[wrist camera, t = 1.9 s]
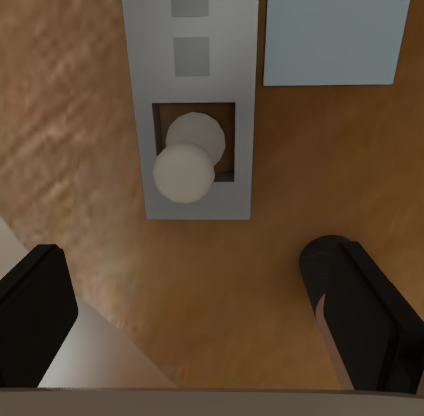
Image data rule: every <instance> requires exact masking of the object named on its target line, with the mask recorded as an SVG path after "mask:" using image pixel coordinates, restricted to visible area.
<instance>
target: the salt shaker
mask: <svg viewBox="0 0 424 416" xmlns="http://www.w3.org/2000/svg"><path fill="white" fill-rule="evenodd" d="M225 147H226V145H225V136H224V132H223V130H222V129H221V127H220V125H219V123H218V122H217V121H216V120H215V119H213V118H211V117H210V116H208V115H206V114H203V113H197V112H190V113H187V114H184V115H182V116H179V117H178V118H177V119H176V120H175V121H174V122H173V123H172V124H171V125H170V126H169V129H168V133H167V136H166V148H165V149H164V150H163V151H162V152H161V153H160V154H159V155H158V156H157V157H156V161H155V164H154V168H153V177H154V182H155V186H156V187H157V189H158V190H159V191H160V193H161V194H162V195H163V196H164V197H166V198H167V199H169V200H171V201H173V202H174V203H183V204H189V203H192V202H195V201H199V200H200V199H201V198H202V197H203V196H205V195H206V194H207V193H208V192H209V190H210V189H211V186H212V184H213V181H214V178H215V173H214V166H215V165H216V163H217V162H218V161H219V160H220V159H221V157H222V155H223V152H224V150H225Z"/></svg>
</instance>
